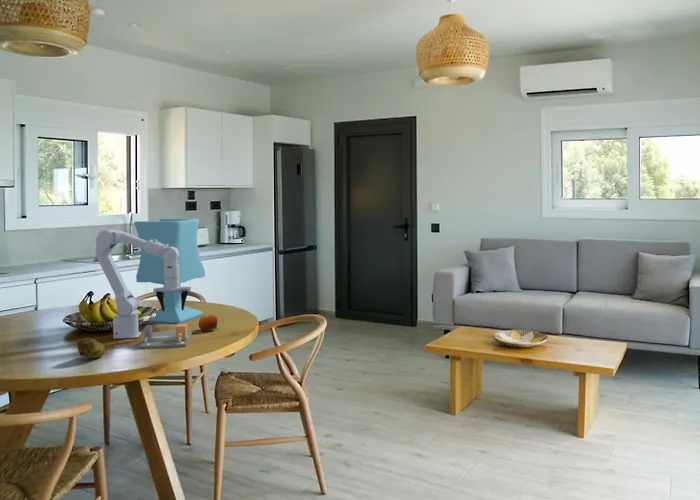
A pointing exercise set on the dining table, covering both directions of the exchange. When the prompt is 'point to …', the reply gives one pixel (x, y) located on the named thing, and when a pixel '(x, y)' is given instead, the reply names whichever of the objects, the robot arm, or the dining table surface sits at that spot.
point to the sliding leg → (181, 332)
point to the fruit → (208, 322)
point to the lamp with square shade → (189, 261)
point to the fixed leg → (148, 333)
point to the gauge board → (165, 340)
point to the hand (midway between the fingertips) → (173, 310)
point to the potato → (90, 348)
